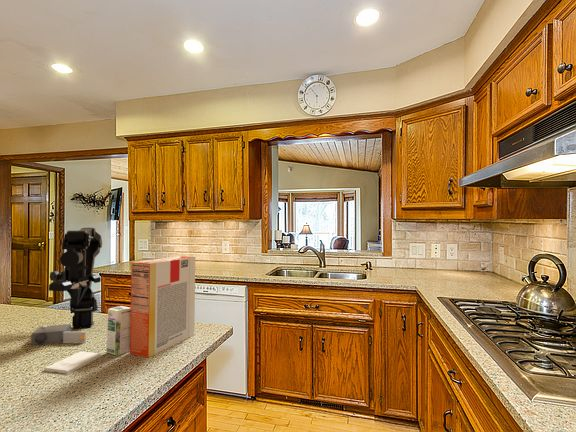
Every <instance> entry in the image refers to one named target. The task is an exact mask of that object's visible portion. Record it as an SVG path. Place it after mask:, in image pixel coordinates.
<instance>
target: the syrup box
mask: <svg viewBox="0 0 576 432" xmlns="http://www.w3.org/2000/svg"><path fill="white" fill-rule="evenodd" d="M130 315H131V307H130V306H129V307H128V306H124V305H119V306H114V307H111V308H108V309H107V328H106V329H107V331H106V332H107V333H106V354H110V355H114V356H115V357H116V356H117V357H118V356H120V355H122V354H126V353H128V352H130Z"/></svg>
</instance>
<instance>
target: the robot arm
mask: <svg viewBox="0 0 576 432" xmlns="http://www.w3.org/2000/svg"><path fill="white" fill-rule="evenodd" d="M101 248H103V239H102V235H101V234H100V233H98V232H97V231H96V228H95V227H83V228H82V227H81V229H79V230H67V231H66V233H65V234H64V237H63V241H62V246H61V250H66V251H64V252H63V253H62V254H61V255H60V258H59V261H60V264H61V265H62V267H64V269H63V271H61V272H59V271H58V270H55V271H52V272H50V273H49V279H50V281H51V282H50V284H48V291H49V292H50V291H51V292H67V293H68V294H69V296H70V299H69V309H70V314H73V316H72V320H71V321H72V324H71V330H72V329H73V330H76V329H78V330H79V329H89V328H92V327H93V325H94V324H95V322H94V312H96V311H98V301H97V299H96V296H95V294H94V292H93V289H92V282H93V283H94V284H96V283H97V284H98V283H100V282H101V278H102V277H101V276H100V274H94V269H95V268H94V267H95V266H94V265H95V259H96V257H97V256H98V255H99V254H100V252H101Z"/></svg>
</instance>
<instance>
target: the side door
mask: <svg viewBox="0 0 576 432" xmlns="http://www.w3.org/2000/svg"><path fill="white" fill-rule="evenodd" d="M86 342H87V331H71V332H65V331H62V332H61V342H60V343H86Z"/></svg>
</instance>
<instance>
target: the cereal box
mask: <svg viewBox="0 0 576 432" xmlns="http://www.w3.org/2000/svg"><path fill="white" fill-rule="evenodd" d="M130 267H131V268H130V269H131V270H130V271H131V273H130V277H131V278H130V308H131V315H130V351H129V354H131V355H137V356H141V357H144V358H145V357H146V358H149V357H153V356H155V355H156V354H158V353H160V352H162V351H165V350H166V349H168V348H171V347H172V346H175V345H176V344H179V343H181V342H183V341H185V340H187V339H189V338H191V337H192V336H195V308H196V306H195V305H196V304H195V303H196V302H195V301H196V300H195V299H196V295H195V294H196V257H195V256H184V255H178V256H177V255H176V256H170V257H163V258H156V259H148V260H140V261H139V260H138V261H131V266H130Z"/></svg>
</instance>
